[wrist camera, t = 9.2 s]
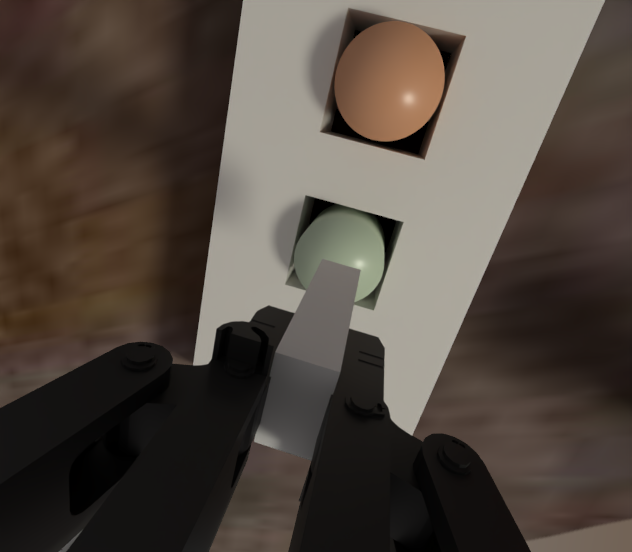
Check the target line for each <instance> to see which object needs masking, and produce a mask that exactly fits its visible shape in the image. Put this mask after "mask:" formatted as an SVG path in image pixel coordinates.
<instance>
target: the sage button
mask: <svg viewBox="0 0 632 552" xmlns="http://www.w3.org/2000/svg"><path fill="white" fill-rule="evenodd" d="M384 249H385V237H384V231H383V228H382V226H381V224H380V222H379V220H378V219H377V217H376V216H375V215H374V214H373V213H369V212H365V211H362V210H358V209H354V208H351V207H347V206H343V205H340V204H335V205H332V206H330V207H328V208H326V209H324V210H323V211H322V212H321V213H320V214H319V215H318V216H317V217H316V218H315V219H314V221H313V222H312V223H311V224H310V226H309V227H308V228H307V230H306V231H305V232H304V233H303V235H302V236H301V238H300V239H299V241H298V243H297V245H296V249H295V253H294V267H295V271H296V274H297V276H298V279H299V280H300V282H301V284H302V285H303V286H304V288H305V289H306V290H307V288H308V286H309V284H310V282H311V280H312V278H313V276H314V274H315V272H316V270H317V268H318V266H319V264H320V262H321V260H322V259H325V260H328V261H332V262H335V263H339V264H342V265H346V266H349V267H353V268H356V269H359V270H361V271H360V276H359V281H358V286H357V291H356V296H355V301H354V302H356V301H359V300H361V299H363V298H365V297H366V296H367V295H369V294H370V293H371V292H372V291H373V290H374V289H375V288H376V286H377V285H378V283H379V282H380V280H381V277H382V274H383V270H384Z"/></svg>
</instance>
